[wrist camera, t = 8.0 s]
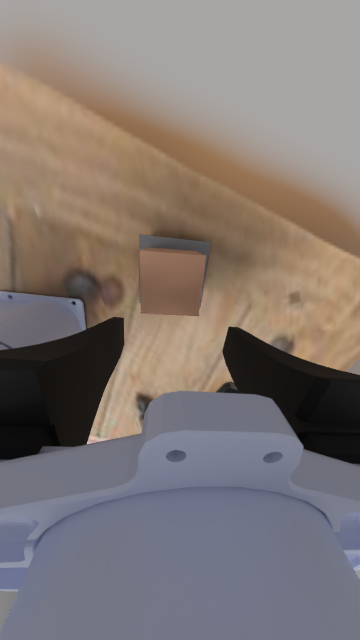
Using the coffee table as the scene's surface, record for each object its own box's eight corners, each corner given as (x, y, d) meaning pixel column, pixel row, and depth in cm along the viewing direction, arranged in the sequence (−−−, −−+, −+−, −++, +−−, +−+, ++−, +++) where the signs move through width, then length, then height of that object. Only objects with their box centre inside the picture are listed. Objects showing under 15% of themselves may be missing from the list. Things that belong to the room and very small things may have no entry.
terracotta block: (149, 293, 16) (140, 313, 12) (149, 247, 15) (139, 250, 10) (191, 295, 17) (198, 316, 12) (195, 251, 15) (206, 255, 11)
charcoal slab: (143, 295, 19) (139, 302, 17) (144, 235, 17) (139, 234, 14) (197, 299, 20) (200, 307, 17) (205, 241, 17) (210, 242, 15)
